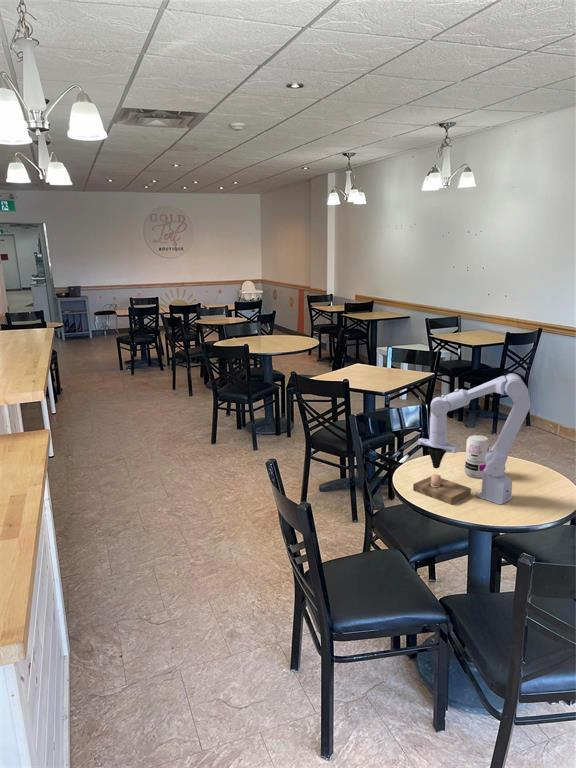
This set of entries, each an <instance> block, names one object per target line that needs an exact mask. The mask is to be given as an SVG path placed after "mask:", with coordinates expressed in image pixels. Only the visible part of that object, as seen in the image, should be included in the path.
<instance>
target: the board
mask: <svg viewBox="0 0 576 768" xmlns="http://www.w3.org/2000/svg"><path fill="white" fill-rule="evenodd" d="M431 476H432V475H431ZM431 476H428V477H426V478H423V479H422V480H420V481H417V482H414V483H413V485H412V489H413V490H412V491H414V492H416V491H417V493H420V494H422V495H425V496H427V497H430V498H432V499H435V500H437V501H440V502H443V503H445V504H448V505H453V504H455V503H457V502H459V501H461V500H463V499H465V498H467V497H469V496H471V492H472V487H468V486H466V485H463V484H460V483H457V482H453V481H450V480H448V479H445V478H442V477H441V479H440V488H434V487H431Z"/></svg>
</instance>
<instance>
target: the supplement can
mask: <svg viewBox="0 0 576 768" xmlns="http://www.w3.org/2000/svg"><path fill="white" fill-rule="evenodd" d="M465 444H466V446H465V461H464V462H465V463H464V474H465V475H466V476H468V477H470V478H475V479H482V478H483V470H484V469H485V467H486V465H485V462H484V456H485V455H486V453H488V452H489V451H490V441H489V438H488V437H487V436H484V435H479V434H472V435H469V436H468V438H467V439H466V443H465Z"/></svg>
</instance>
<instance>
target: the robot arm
mask: <svg viewBox="0 0 576 768" xmlns="http://www.w3.org/2000/svg"><path fill="white" fill-rule="evenodd" d="M504 392H505V393H506V395H507V396H508V397H509V398H510V399H511V400H512V403H513V405H512V408H511V410H510V412H509V414H508V416H507V419H506V421H505V423H504V425H503V427H502V429H501V431H500V433H499V435H498V437H497V439H496V441H495V444H493V445H492V446H491V448H490V449H489V452H488V453H486V455H485V456H484V462H485V465H486V467H485V469H484V470H483V478H481V479H482V481H481V492H478V493H477V494H476V495H475V496H476V497H477V498H480V499H483V500H486V501H488V502H492V503H495V504H498V505H504V504H505V503H506V502H508V501H510V500H511V499H513V497H512V492H513V480H512V478H511V477H510V476H508V475H506V463H507V460H508V456H509V452H510V450H511V448H512V446H513V443H514V441H515V439H516V438H517V435H518V433H519V431H520V429H521V427H522V425H523V423H524V421H525V420H526V417H527V414H528V413H529V411H530V408H531V406H532V405H531V400H530V399H531V398H530V396H529V388H528V387H527V385H526V384H525V382H524V381H523V379H522V378H521V376H520V375H519V374H516V373H514V372H513V373H507V374H506V375H501V376H499V377H496V378H494V379H491V380H490V381H487V382H484V383H482V384H480V385H478V386H475V387H472V388H470V389H468V390H466V389H464V388H461V389H459V388H456V389H454V391H453V392H450V393H447V394H446V395H445V394H441V396H437V397H434V398H432V400H431V402H430V418H429V437H428V438H429V439H428V438H423V437H421V438H418V440H417V441H418V442H417V443H418V446H419V445H423V446H426V447H428V449H427V453H428V455H429V457H430V459H431V462H432V467H433V469H438V468H440V466H441V463H442V461H443V458H444V456H445V454H446V453H447V452H449V453H452V454H457V453H458V446H455V445H453V444H451V443H448V442H447V429H448V428H447V427H448V425H447V424H448V419H447V413H448V412H451V411H455V410H457V409H460V408H462V407H465V406H467V405H469V404H470V403H471V400H474V399H476V398H479V397H482V396H486V395H489V394H491V393H496V394H500V395H504Z"/></svg>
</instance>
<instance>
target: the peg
mask: <svg viewBox="0 0 576 768" xmlns="http://www.w3.org/2000/svg"><path fill="white" fill-rule="evenodd" d="M441 478H442V477H441V475H439V474H438V473H437V474H434V473H433V474H431V487H434V488H440V479H441Z"/></svg>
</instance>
